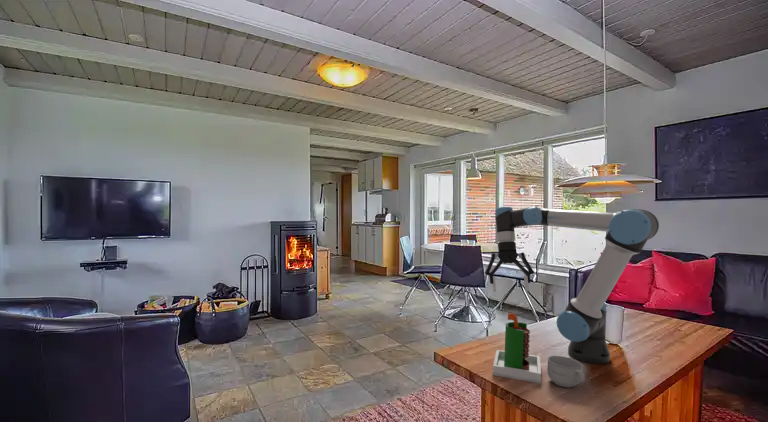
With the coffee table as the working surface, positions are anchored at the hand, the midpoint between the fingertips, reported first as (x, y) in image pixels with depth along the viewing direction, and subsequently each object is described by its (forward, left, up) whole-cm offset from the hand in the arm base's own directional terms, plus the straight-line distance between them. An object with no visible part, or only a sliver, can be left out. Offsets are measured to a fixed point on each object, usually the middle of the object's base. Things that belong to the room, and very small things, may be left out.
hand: (510, 291), depth 160 cm
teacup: (-20, +26, -25) cm, 41 cm away
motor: (-4, +21, -24) cm, 32 cm away
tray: (-4, +21, -25) cm, 32 cm away
